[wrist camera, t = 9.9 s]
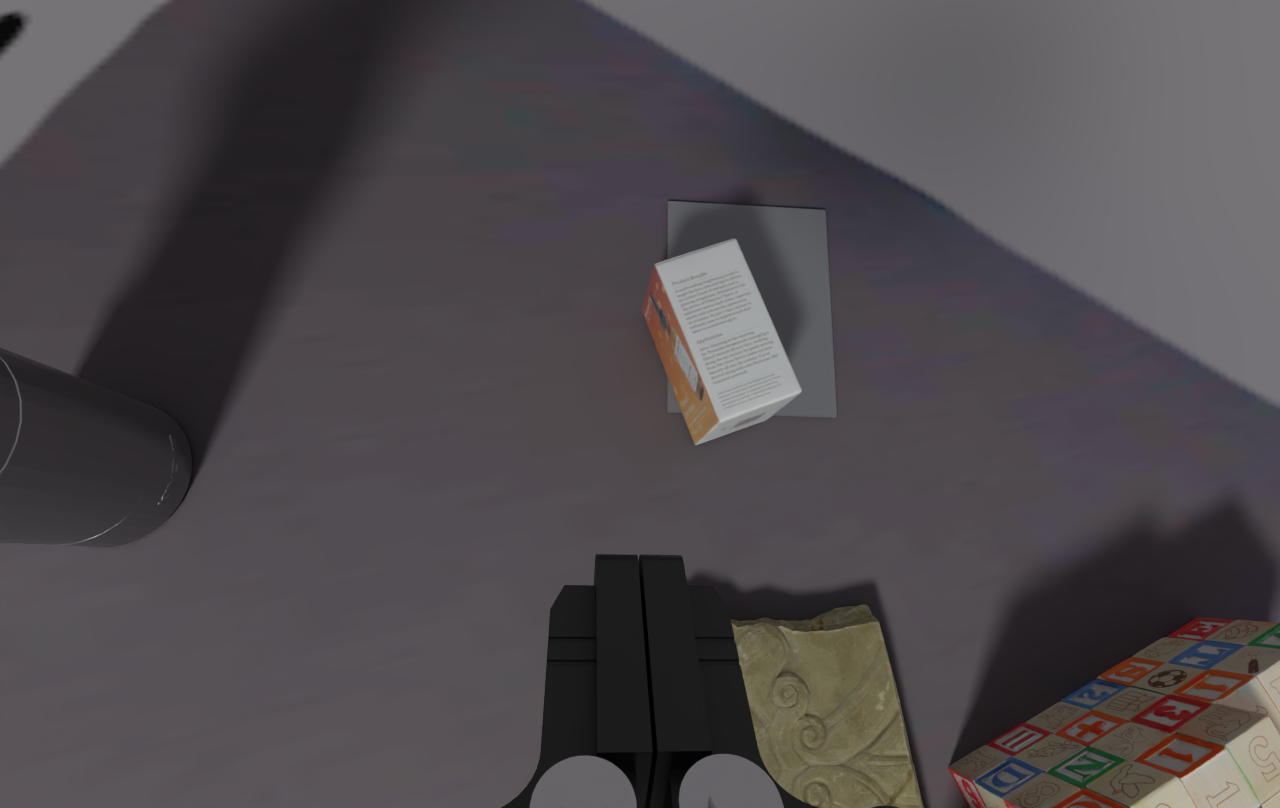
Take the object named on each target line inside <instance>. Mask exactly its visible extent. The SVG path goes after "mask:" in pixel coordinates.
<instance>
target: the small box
mask: <svg viewBox="0 0 1280 808" xmlns="http://www.w3.org/2000/svg"><path fill="white" fill-rule="evenodd" d="M642 313H643V315H644V318H645V320H646V323H647V325H648V328H649V330H650V333H651V335H652V338H653V340H654V343H655V345H656V348H657V350H658V353H659V356H660V358H661V361H662V363H663V366H664V368H665V371H666V373H667V376H668V378H669V381H670V383H671V386H672V388H673V391H674V394H675V396H676V399H677V401H678V404H679V406H680V409H681V411H682V414H683V416H684V419H685V421H686V424H687V426H688V429H689V431H690V434H691V436H692V439H693V441H694V444H695V445H698V444H701V443H704V442H707V441H709V440H712V439H715V438H718V437H721V436H724V435H726V434H729V433H732V432H734V431H737V430H740V429H743V428H746V427H749V426H751V425H754V424H757V423H760V422H763V421H766V420H767V419H768V418H770V417H771V416H772V415H774V414H775V413H776V412H777V411H778V410H780V409H781V408H782V407H784V406H785V405H786V404H787V403H789V402H790V401H791V400H793V399H794V398H795V397H796V396H798V395H799V394H800V393H801V392H802V389H801V386H800V384H799V382H798V380H797V377H796V375H795V373H794V370H793V368H792V366H791V363H790V361H789V359H788V356H787V354H786V352H785V350H784V347H783V345H782V343H781V340H780V338H779V336H778V333H777V331H776V329H775V327H774V324H773V322H772V320H771V317H770V315H769V313H768V310H767V308H766V306H765V303H764V301H763V299H762V297H761V294H760V292H759V290H758V287H757V285H756V283H755V281H754V278H753V276H752V274H751V271H750V269H749V267H748V264H747V262H746V260H745V257H744V255H743V253H742V251H741V248H740V246H739V244H738V241H737V240H736V239H730V240H727V241H723V242H720V243H717V244H714V245H711V246H708V247H705V248H702V249H698V250H695V251H692V252H689V253H686V254H683V255H680V256H677V257H674V258H670V259H667V260H664V261H662V262H659V263H656V264H654V268H653V272H652V276H651V279H650V283H649V287H648V291H647V294H646V298H645V301H644V305H643V309H642Z"/></svg>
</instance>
